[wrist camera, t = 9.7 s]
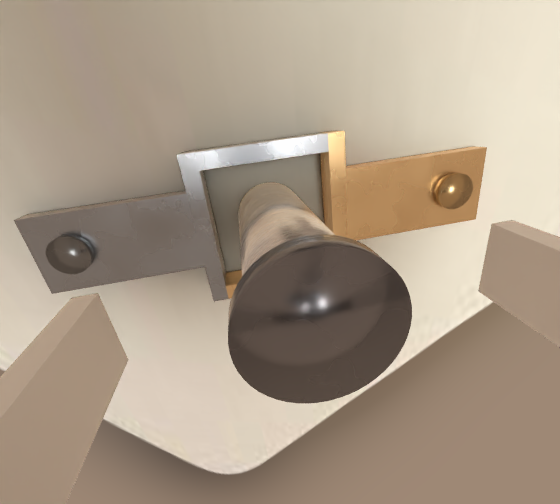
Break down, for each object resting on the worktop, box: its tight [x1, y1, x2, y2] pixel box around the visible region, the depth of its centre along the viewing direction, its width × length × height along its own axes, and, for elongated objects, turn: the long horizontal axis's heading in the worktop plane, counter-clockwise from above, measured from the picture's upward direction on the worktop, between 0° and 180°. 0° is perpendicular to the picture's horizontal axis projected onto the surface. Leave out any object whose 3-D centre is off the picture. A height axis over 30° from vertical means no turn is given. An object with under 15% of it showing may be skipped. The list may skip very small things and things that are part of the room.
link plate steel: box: [14, 133, 329, 301], centre depth 19 cm, size 10×19×2 cm, turn 97°
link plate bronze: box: [226, 131, 487, 298], centre depth 20 cm, size 10×19×2 cm, turn 97°
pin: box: [228, 182, 412, 403], centre depth 14 cm, size 5×5×13 cm
